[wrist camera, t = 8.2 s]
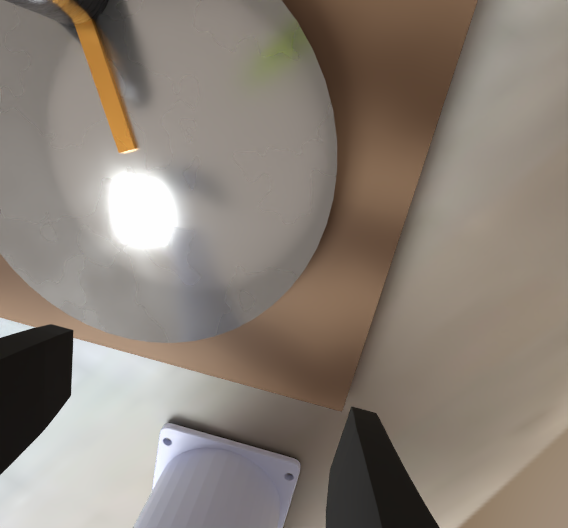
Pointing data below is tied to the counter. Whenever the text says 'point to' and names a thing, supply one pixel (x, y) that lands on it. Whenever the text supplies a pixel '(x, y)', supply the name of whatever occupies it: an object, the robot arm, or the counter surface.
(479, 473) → the counter surface
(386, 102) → the dial base
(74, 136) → the dial
